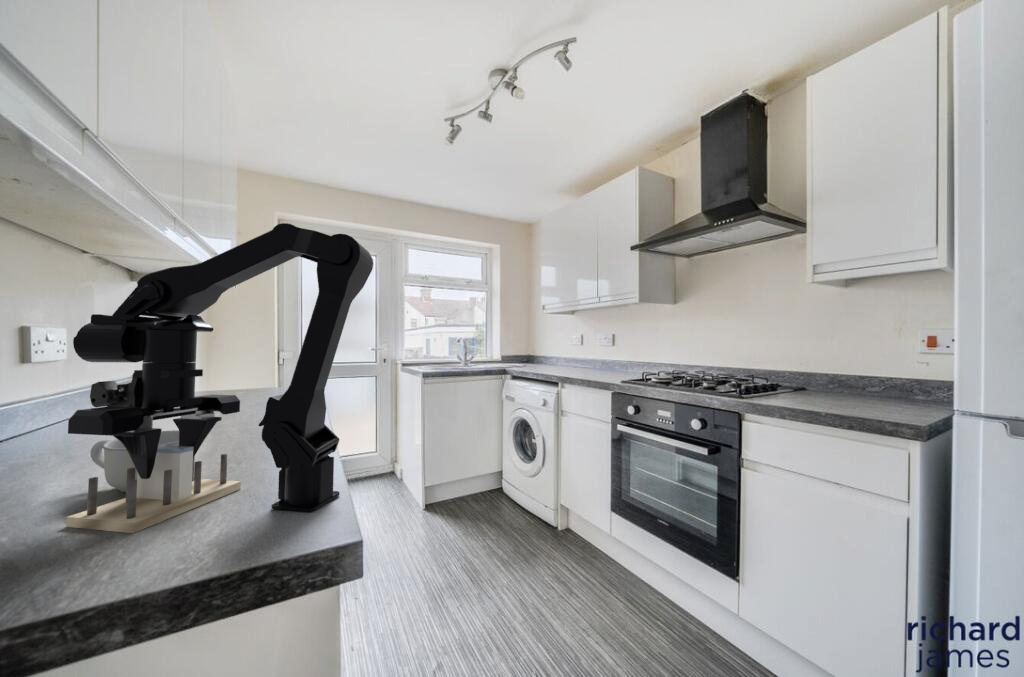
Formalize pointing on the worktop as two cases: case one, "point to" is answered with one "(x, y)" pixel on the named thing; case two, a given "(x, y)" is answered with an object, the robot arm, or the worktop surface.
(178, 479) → the white square block
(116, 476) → the teacup
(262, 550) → the worktop surface
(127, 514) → the dish rack
